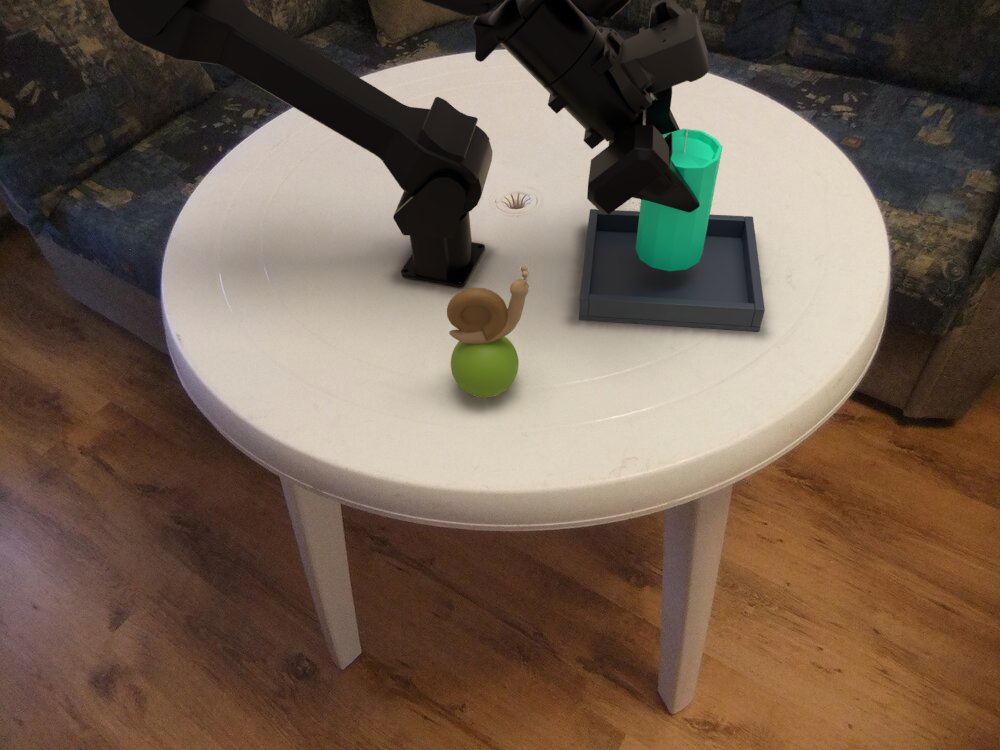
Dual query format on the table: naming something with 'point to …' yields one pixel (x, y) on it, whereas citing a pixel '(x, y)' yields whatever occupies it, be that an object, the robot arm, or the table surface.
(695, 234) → the candle
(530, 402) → the table surface
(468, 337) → the snail figurine
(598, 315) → the tray
